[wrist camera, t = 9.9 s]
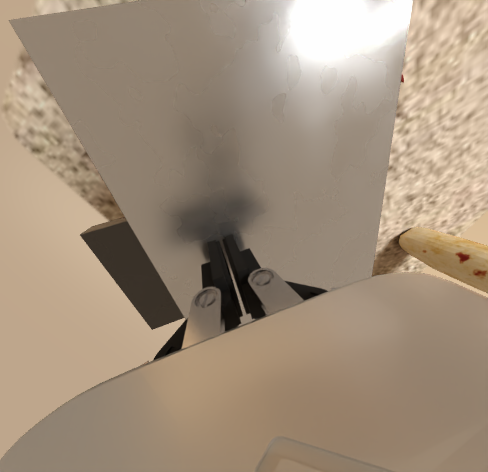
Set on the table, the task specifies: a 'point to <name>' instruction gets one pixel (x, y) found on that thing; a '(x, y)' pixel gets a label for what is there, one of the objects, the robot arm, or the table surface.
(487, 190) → the table surface
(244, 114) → the lid
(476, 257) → the food model
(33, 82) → the table surface
